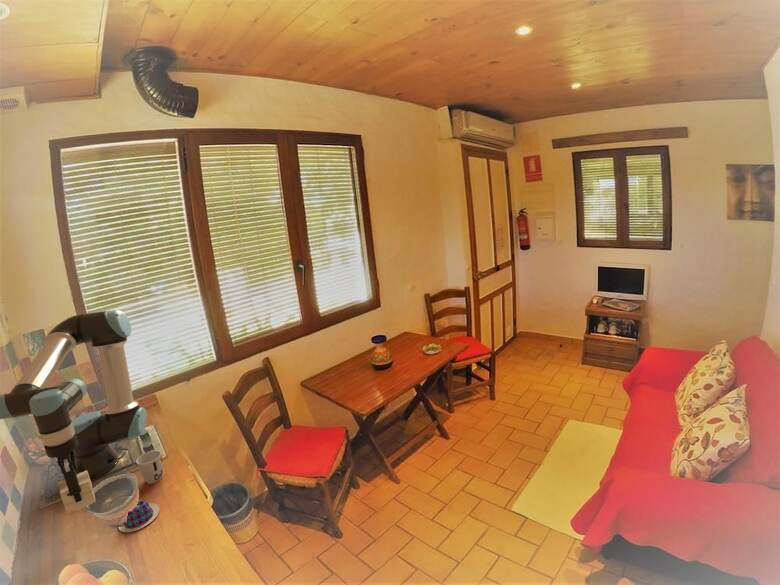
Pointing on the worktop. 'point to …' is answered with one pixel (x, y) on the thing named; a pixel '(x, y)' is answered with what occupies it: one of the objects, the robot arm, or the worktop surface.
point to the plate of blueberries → (140, 516)
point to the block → (86, 489)
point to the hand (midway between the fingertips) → (80, 501)
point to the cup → (151, 466)
